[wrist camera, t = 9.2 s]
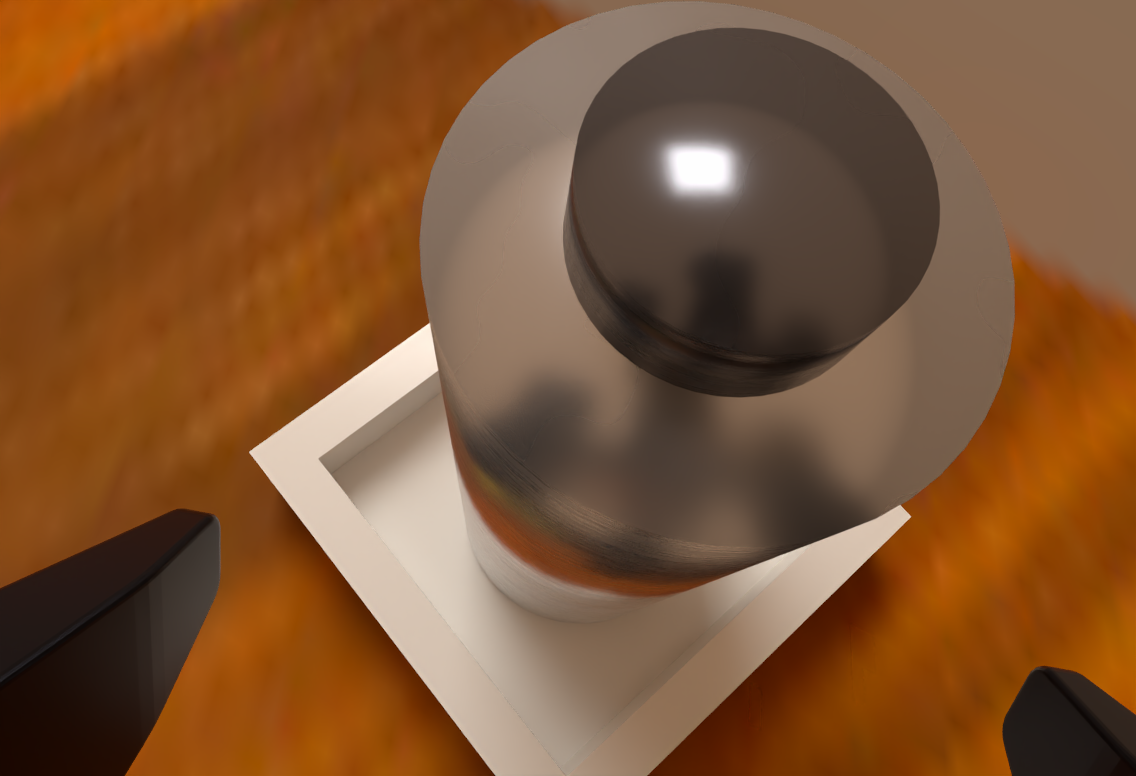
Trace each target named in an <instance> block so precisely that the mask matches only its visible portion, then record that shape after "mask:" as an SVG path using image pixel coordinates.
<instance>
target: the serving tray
mask: <svg viewBox="0 0 1136 776" xmlns="http://www.w3.org/2000/svg"><path fill="white" fill-rule="evenodd" d="M249 453H250V454H251V455H252V457H253V458H254V459H255V460H256V462H257V463H258V464H259V466H260V467H261V468H262V470H263V471H264V472H265V474H266V475H267V476H268V478H269V479H270V480H271V481H272V483H273V484H274V485H275V487H276V488H277V489H278V491H279V492H280V493H281V495H282V496H283V497H284V499H285V500H286V501H287V502H288V504H289V505H290V506H291V508H292V509H293V510H294V512H295V513H296V514H297V516H298V517H299V518H300V520H301V521H302V522H303V524H304V525H305V526H306V527H307V529H308V530H309V531H310V533H311V534H312V535H313V537H314V538H315V539H316V541H317V542H318V543H319V545H320V546H321V547H322V548H323V550H324V551H325V552H326V554H327V555H328V556H329V558H330V559H331V560H332V562H333V563H334V564H335V566H336V567H337V568H338V570H339V571H340V572H341V573H342V575H343V576H344V577H345V579H346V580H347V581H348V583H349V584H350V585H351V587H352V588H353V589H354V591H355V592H356V593H357V594H358V596H359V597H360V598H361V600H362V601H363V602H364V604H365V605H366V606H367V608H368V609H369V610H370V612H371V613H372V614H373V616H374V617H375V618H376V619H377V621H378V622H379V623H380V625H381V626H382V627H383V629H384V630H385V631H386V633H387V634H388V635H389V637H390V638H391V639H392V640H393V642H394V643H395V644H396V646H397V647H398V648H399V650H400V651H401V652H402V654H403V655H404V656H405V658H406V659H407V660H408V662H409V663H410V664H411V665H412V667H413V668H414V669H415V671H416V672H417V673H418V675H419V676H420V677H421V679H422V680H423V681H424V683H425V684H426V685H427V686H428V688H429V689H430V690H431V692H432V693H433V694H434V696H435V697H436V698H437V700H438V701H439V702H440V704H441V705H442V706H443V707H444V709H445V710H446V711H447V713H448V714H449V715H450V717H451V718H452V719H453V721H454V722H455V723H456V725H457V726H458V727H459V729H460V730H461V731H462V732H463V734H464V735H465V736H466V738H467V739H468V740H469V742H470V743H471V744H472V746H473V747H474V748H475V750H476V751H477V752H478V753H479V755H480V756H481V757H482V759H483V760H484V761H485V763H486V764H487V765H488V767H489V768H490V769H491V771H492V772H493V773H494V775H495V776H647V775H648V774H649V773H650V772H651V771H652V770H653V769H655V768H656V767H657V766H658V765H659V764H660V763H661V762H662V761H663V760H664V759H665V758H666V757H667V756H668V755H669V754H670V753H671V752H672V751H673V750H674V749H675V748H676V747H677V746H678V745H679V744H680V743H681V742H682V741H683V740H684V739H685V738H686V737H687V736H688V735H689V734H690V733H691V732H692V731H693V730H694V729H695V728H696V727H697V726H698V725H699V724H700V723H701V722H702V721H703V720H704V719H705V718H706V717H708V716H709V715H710V714H711V713H712V712H713V711H714V710H715V709H716V708H717V707H718V706H719V705H720V704H721V703H722V702H723V701H724V700H725V699H726V698H727V697H728V696H729V695H730V694H731V693H732V692H733V691H734V690H735V689H736V688H737V687H738V686H739V685H740V684H741V683H742V682H743V681H744V680H745V679H746V678H747V677H748V676H749V675H750V674H751V673H752V672H753V671H754V670H755V669H756V668H757V667H758V666H759V665H761V664H762V663H763V662H764V661H765V660H766V659H767V658H768V657H769V656H770V655H771V654H772V653H773V652H774V651H775V650H776V649H777V648H778V647H779V646H780V645H781V644H782V643H783V642H784V641H785V640H786V639H787V638H788V637H789V636H790V635H791V634H792V633H793V632H794V631H795V630H796V629H797V628H798V627H799V626H800V625H801V624H802V623H803V622H804V621H805V620H806V619H807V618H808V617H809V616H810V615H811V614H812V613H814V612H815V611H816V610H817V609H818V608H819V607H820V606H821V605H822V604H823V603H824V602H825V601H826V600H827V599H828V598H829V597H830V596H831V595H832V594H833V593H834V592H835V591H836V590H837V589H838V588H839V587H840V586H841V585H842V584H843V583H844V582H845V581H846V580H847V579H848V578H849V577H850V576H851V575H852V574H853V573H854V572H855V571H856V570H857V569H858V568H859V567H860V566H861V565H862V564H863V563H864V562H865V561H867V560H868V559H869V558H870V557H871V556H872V555H873V554H874V553H875V552H876V551H877V550H878V549H879V548H880V547H881V546H882V545H883V544H884V543H885V542H886V541H887V540H888V539H889V538H890V537H891V536H892V535H893V534H894V533H895V532H896V531H897V530H898V529H899V528H900V527H901V526H902V525H903V524H904V523H905V522H906V521H907V520H908V519H909V518H910V517H911V516H910V515H909V514H908V513H907V512H906V511H905V510H904V509H903V507H902V506H901V505H899V506H897V507H896V508H894V509H892V510H890V511H889V512H887V513H885V514H883V515H882V516H880V517H878V518H876V519H874V520H871V521H869V522H866V523H864V524H861V525H859V526H856V527H854V528H851V529H849V530H846V531H843V532H841V533H838V534H836V535H833V536H830V537H828V538H825V539H823V540H820V541H817V542H815V543H812V544H809V545H807V546H804V547H801V548H799V549H796V550H794V551H791V552H788V553H786V554H783V555H780V556H778V557H775V558H773V559H770V560H767V561H765V562H762V563H759V564H757V565H754V566H751V567H749V568H746V569H744V570H741V571H738V572H736V573H733V574H730V575H728V576H725V577H722V578H720V579H717V580H715V581H712V582H709V583H707V584H704V585H701V586H699V587H696V588H694V589H691V590H688V591H686V592H683V593H680V594H678V595H675V596H672V597H670V598H667V599H665V600H662V601H659V602H657V603H654V604H651V605H649V606H646V607H644V608H641V609H638V610H636V611H633V612H630V613H628V614H625V615H622V616H620V617H617V618H615V619H611V620H606V621H602V622H597V623H587V624H577V623H564V622H559V621H553V620H550V619H547V618H544V617H541V616H538V615H536V614H533V613H531V612H529V611H527V610H525V609H523V608H522V607H520V606H519V605H517V604H516V603H514V602H513V601H511V600H510V599H509V598H508V597H506V596H505V595H504V594H503V593H502V592H501V591H499V590H498V588H497V587H496V586H495V585H494V584H493V583H492V582H491V581H490V579H489V578H488V577H487V575H486V574H485V572H484V571H483V569H482V568H481V566H480V564H479V562H478V560H477V558H476V556H475V554H474V552H473V549H472V546H471V543H470V541H469V538H468V533H467V527H466V522H465V517H464V511H463V506H462V500H461V494H460V489H459V483H458V478H457V472H456V467H455V461H454V455H453V450H452V444H451V439H450V433H449V428H448V422H447V416H446V411H445V405H444V400H443V394H442V389H441V383H440V377H439V372H438V366H437V361H436V355H435V350H434V344H433V338H432V333H431V327H430V323H429V324H428V325H426V326H425V327H424V328H422V329H421V330H419V331H418V332H417V333H415V334H414V335H412V336H411V337H410V338H408V339H407V340H405V341H404V342H403V343H401V344H400V345H398V346H397V347H396V348H394V349H393V350H391V351H390V352H389V353H387V354H386V355H384V356H383V357H382V358H380V359H379V360H377V361H376V362H375V363H373V364H372V365H370V366H369V367H368V368H366V369H365V370H363V371H362V372H361V373H359V374H358V375H356V376H355V377H353V378H352V379H351V380H349V381H348V382H346V383H345V384H344V385H342V386H341V387H339V388H338V389H337V390H335V391H334V392H332V393H331V394H330V395H328V396H327V397H325V398H324V399H323V400H321V401H320V402H318V403H317V404H316V405H314V406H313V407H311V408H310V409H309V410H307V411H306V412H304V413H303V414H302V415H300V416H299V417H297V418H296V419H295V420H293V421H292V422H290V423H289V424H288V425H286V426H285V427H283V428H282V429H281V430H279V431H278V432H276V433H275V434H274V435H272V436H271V437H269V438H268V439H267V440H265V441H264V442H262V443H261V444H260V445H258V446H257V447H255V448H254V449H253V450H251V451H250V452H249Z"/></svg>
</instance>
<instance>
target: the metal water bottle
mask: <svg viewBox="0 0 1136 776" xmlns="http://www.w3.org/2000/svg"><path fill="white" fill-rule="evenodd" d="M420 259H421V277H422V283H423V288H424V294H425V299H426V305H427V311H428V316H429V322H430V327H431V333H432V338H433V344H434V350H435V355H436V361H437V366H438V372H439V377H440V383H441V389H442V394H443V400H444V405H445V411H446V416H447V422H448V428H449V433H450V439H451V444H452V450H453V455H454V461H455V467H456V472H457V478H458V483H459V489H460V494H461V500H462V506H463V511H464V517H465V522H466V527H467V533H468V538H469V541H470V543H471V546H472V549H473V552H474V554H475V556H476V558H477V560H478V562H479V564H480V566H481V568H482V569H483V571H484V572H485V574H486V575H487V577H488V578H489V579H490V581H491V582H492V583H493V584H494V585H495V586H496V587H497V588H498V590H499V591H501V592H502V593H503V594H504V595H505V596H506V597H508V598H509V599H510V600H511V601H513V602H514V603H516V604H517V605H519V606H520V607H522V608H523V609H525V610H527V611H529V612H531V613H533V614H536V615H538V616H541V617H544V618H547V619H550V620H553V621H559V622H564V623H577V624H587V623H597V622H602V621H606V620H611V619H615V618H617V617H620V616H622V615H625V614H628V613H630V612H633V611H636V610H638V609H641V608H644V607H646V606H649V605H651V604H654V603H657V602H659V601H662V600H665V599H667V598H670V597H672V596H675V595H678V594H680V593H683V592H686V591H688V590H691V589H694V588H696V587H699V586H701V585H704V584H707V583H709V582H712V581H715V580H717V579H720V578H722V577H725V576H728V575H730V574H733V573H736V572H738V571H741V570H744V569H746V568H749V567H751V566H754V565H757V564H759V563H762V562H765V561H767V560H770V559H773V558H775V557H778V556H780V555H783V554H786V553H788V552H791V551H794V550H796V549H799V548H801V547H804V546H807V545H809V544H812V543H815V542H817V541H820V540H823V539H825V538H828V537H830V536H833V535H836V534H838V533H841V532H843V531H846V530H849V529H851V528H854V527H856V526H859V525H861V524H864V523H866V522H869V521H871V520H874V519H876V518H878V517H880V516H882V515H883V514H885V513H887V512H889V511H890V510H892V509H894V508H896V507H897V506H899V505H901V504H903V503H904V502H906V501H908V500H909V499H911V498H912V497H913V496H915V495H916V494H917V493H918V492H920V491H921V490H922V489H923V488H925V487H926V486H927V485H928V484H930V483H931V482H932V481H934V480H935V479H936V478H937V477H939V476H940V475H941V474H942V473H943V472H944V470H945V469H946V468H947V467H948V466H949V465H950V464H951V463H952V462H953V461H954V460H955V458H956V457H957V456H958V455H959V454H960V453H961V452H962V451H963V450H964V449H965V447H966V446H967V444H968V443H969V441H970V440H971V438H972V437H973V435H974V434H975V432H976V431H977V429H978V428H979V426H980V425H981V423H982V422H983V420H984V419H985V417H986V415H987V413H988V411H989V409H990V407H991V404H992V402H993V400H994V398H995V396H996V393H997V391H998V389H999V387H1000V385H1001V381H1002V378H1003V374H1004V371H1005V367H1006V364H1007V360H1008V357H1009V353H1010V348H1011V341H1012V333H1013V325H1014V318H1015V304H1014V277H1013V270H1012V264H1011V257H1010V251H1009V245H1008V242H1007V238H1006V235H1005V232H1004V228H1003V225H1002V221H1001V218H1000V215H999V212H998V210H997V207H996V205H995V202H994V200H993V198H992V196H991V193H990V191H989V189H988V186H987V184H986V182H985V180H984V178H983V176H982V175H981V173H980V171H979V169H978V168H977V166H976V164H975V163H974V161H973V159H972V158H971V156H970V155H969V152H968V151H967V149H966V148H965V147H964V145H963V144H962V143H961V141H960V140H959V139H958V137H957V136H956V135H955V133H954V132H953V131H952V129H951V128H950V127H949V125H948V124H947V123H946V121H945V120H944V119H943V118H942V117H941V116H940V115H939V114H938V113H937V112H936V111H935V110H934V109H933V108H932V106H931V105H930V104H929V103H928V102H927V101H926V100H925V99H924V98H923V97H922V96H921V95H920V94H919V93H917V92H916V91H915V90H914V89H913V88H912V87H910V86H909V85H908V84H907V83H906V82H905V81H904V80H902V79H901V78H900V77H899V76H898V75H897V74H895V73H894V72H893V71H891V70H890V69H888V68H887V67H885V66H884V65H883V64H881V63H880V62H878V61H877V60H875V59H874V58H873V57H871V56H870V55H868V54H867V53H865V52H863V51H862V50H860V49H858V48H856V47H854V46H853V45H851V44H849V43H847V42H845V41H843V40H842V39H840V38H838V37H836V36H834V35H832V34H830V33H827V32H825V31H822V30H820V29H818V28H815V27H813V26H811V25H808V24H806V23H803V22H801V21H798V20H794V19H791V18H788V17H784V16H781V15H778V14H775V13H772V12H768V11H764V10H758V9H754V8H748V7H743V6H739V5H733V4H722V3H711V2H701V1H688V2H659V3H651V4H643V5H635V6H629V7H625V8H621V9H616V10H613V11H608V12H604V13H600V14H596V15H594V16H591V17H588V18H586V19H583V20H580V21H578V22H575V23H572V24H570V25H567V26H565V27H563V28H561V29H559V30H557V31H555V32H553V33H551V34H549V35H547V36H545V37H544V38H542V39H540V40H538V41H536V42H534V43H533V44H532V45H530V46H529V47H527V48H526V49H524V50H523V51H522V52H520V53H519V54H517V55H516V56H514V57H513V58H512V59H510V60H509V61H508V62H506V63H505V64H504V65H503V66H502V67H501V68H500V69H499V70H498V71H497V72H496V73H494V74H493V75H492V76H491V77H490V78H489V79H488V80H487V81H486V82H485V83H484V84H483V85H482V86H481V87H480V89H479V90H478V91H477V92H476V93H475V95H474V96H473V97H472V98H471V100H470V101H469V102H468V103H467V104H466V106H465V107H464V108H463V109H462V111H461V113H460V114H459V116H458V118H457V119H456V121H455V123H454V124H453V126H452V127H451V129H450V131H449V132H448V134H447V136H446V137H445V139H444V142H443V144H442V147H441V149H440V151H439V154H438V156H437V158H436V161H435V163H434V166H433V168H432V171H431V175H430V179H429V183H428V187H427V190H426V194H425V198H424V202H423V210H422V220H421V230H420Z"/></svg>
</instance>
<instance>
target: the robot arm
mask: <svg viewBox="0 0 1136 776" xmlns="http://www.w3.org/2000/svg"><path fill="white" fill-rule="evenodd" d="M219 581H220V523H219V520H218V518H217V517H216V516H215V515H214V514H210V513H205V512H200V511H194V510H189V509H176V510H173V511H171V512H168V513H166V514H164V515H162V516H160V517H157V518H155V519H153V520H151V521H148V522H146V523H144V524H142V525H140V526H137V527H135V528H133V529H131V530H129V531H126V532H124V533H122V534H120V535H117V536H115V537H113V538H111V539H109V540H106V541H104V542H102V543H100V544H98V545H95V546H93V547H91V548H89V549H86V550H84V551H82V552H80V553H78V554H75V555H73V556H71V557H69V558H66V559H64V560H62V561H60V562H58V563H55V564H53V565H51V566H49V567H47V568H44V569H42V570H40V571H38V572H35V573H33V574H31V575H29V576H27V577H24V578H22V579H20V580H18V581H16V582H13V583H11V584H9V585H7V586H4V587H2V588H0V776H125V775H126V773H127V771H128V770H129V768H130V766H131V765H132V763H133V761H134V760H135V758H136V756H137V755H138V753H139V752H140V750H141V748H142V747H143V745H144V743H145V741H146V740H147V738H148V736H149V734H150V733H151V731H152V729H153V727H154V726H155V724H156V722H157V720H158V718H159V716H160V714H161V712H162V710H163V708H164V706H165V704H166V702H167V699H168V697H169V695H170V693H171V691H172V689H173V687H174V684H175V682H176V680H177V678H178V676H179V674H180V672H181V669H182V667H183V665H184V663H185V661H186V659H187V657H188V654H189V652H190V650H191V648H192V646H193V644H194V642H195V639H196V637H197V635H198V633H199V631H200V629H201V627H202V624H203V622H204V620H205V618H206V616H207V614H208V612H209V610H210V607H211V605H212V603H213V601H214V599H215V596H216V593H217V590H218V586H219ZM1002 732H1003V742H1004V746H1005V750H1006V754H1007V758H1008V762H1009V766H1010V770H1011V773H1012V776H1136V715H1135V714H1134V713H1132V712H1131V711H1130V710H1128V709H1127V708H1126V707H1124V706H1123V705H1122V704H1120V703H1119V702H1118V701H1116V700H1115V699H1114V698H1112V697H1111V696H1110V695H1108V694H1107V693H1106V692H1104V691H1103V690H1102V689H1100V688H1099V687H1098V686H1096V685H1095V684H1094V683H1092V682H1091V681H1090V680H1088V679H1087V678H1085V677H1084V676H1083V675H1081V674H1079V673H1077V672H1074V671H1071V670H1065V669H1060V668H1054V667H1049V666H1040V667H1037V668H1035V669H1034V670H1032V671H1031V673H1030V674H1029V675H1028V677H1027V679H1026V681H1025V682H1024V684H1023V686H1022V688H1021V690H1020V691H1019V693H1018V695H1017V697H1016V698H1015V700H1014V702H1013V704H1012V705H1011V707H1010V709H1009V711H1008V712H1007V714H1006V716H1005V719H1004V723H1003V731H1002Z"/></svg>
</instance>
